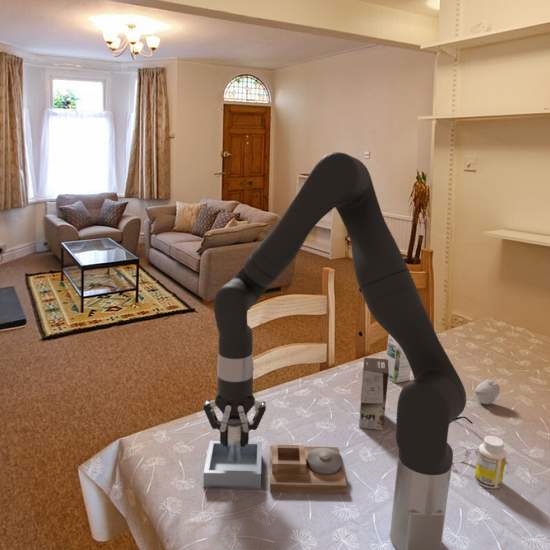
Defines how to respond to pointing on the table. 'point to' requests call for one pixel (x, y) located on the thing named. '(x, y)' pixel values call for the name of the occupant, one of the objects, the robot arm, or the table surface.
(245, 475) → the tray
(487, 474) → the supplement bottle
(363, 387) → the coffee box
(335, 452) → the block
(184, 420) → the table surface
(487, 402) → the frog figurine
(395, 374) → the syrup box
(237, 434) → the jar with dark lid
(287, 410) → the table surface
